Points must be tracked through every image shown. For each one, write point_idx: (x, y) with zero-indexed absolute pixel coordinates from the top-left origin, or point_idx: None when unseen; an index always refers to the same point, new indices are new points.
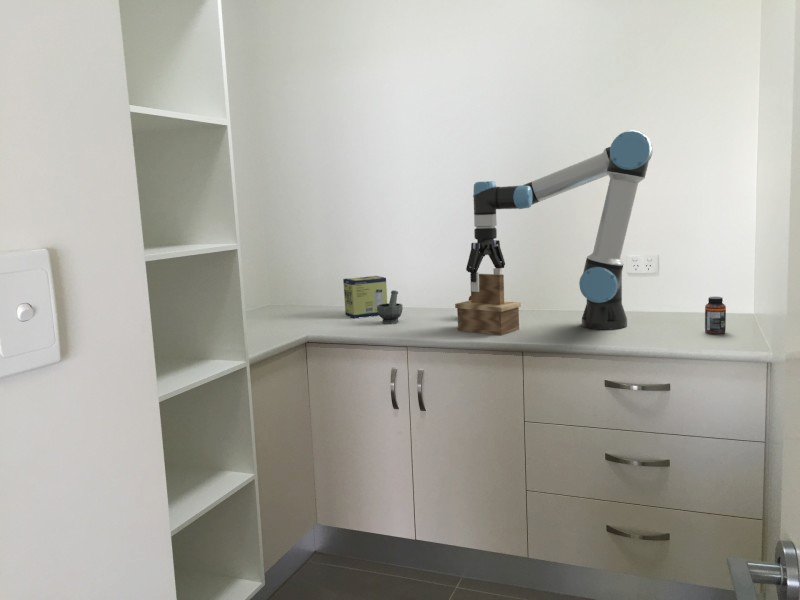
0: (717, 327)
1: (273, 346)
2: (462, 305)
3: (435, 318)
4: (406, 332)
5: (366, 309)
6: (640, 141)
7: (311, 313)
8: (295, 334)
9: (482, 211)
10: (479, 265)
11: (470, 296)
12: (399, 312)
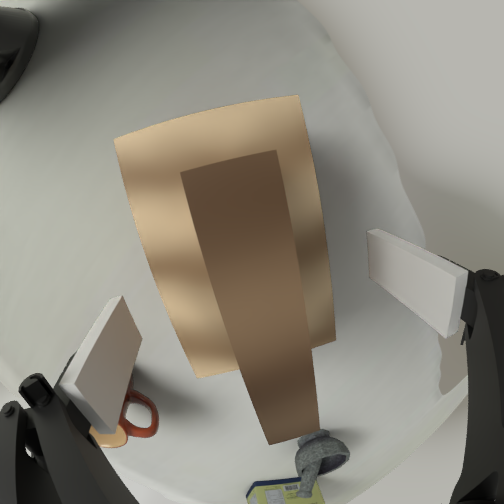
0: None
1: None
2: (332, 307)
3: (216, 434)
4: (379, 349)
5: (296, 487)
6: None
7: None
8: (437, 409)
9: None
10: (490, 318)
11: (152, 433)
12: (317, 445)
